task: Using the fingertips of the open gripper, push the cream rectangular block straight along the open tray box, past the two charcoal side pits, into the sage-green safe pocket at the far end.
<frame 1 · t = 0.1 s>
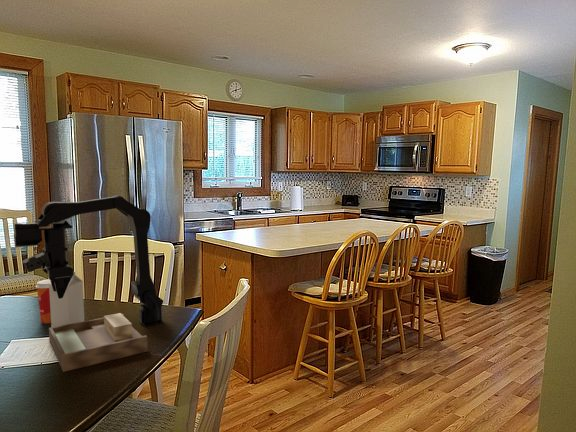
hand: (58, 294, 129), 15 cm above the table, fingers open, 9 cm apart
paper cup: (50, 321, 149), on the table
milk carton: (68, 327, 143), on the table
open tray box: (97, 346, 127), on the table
cream rectangular block: (117, 332, 130), point 3 cm above the table, touching open tray box
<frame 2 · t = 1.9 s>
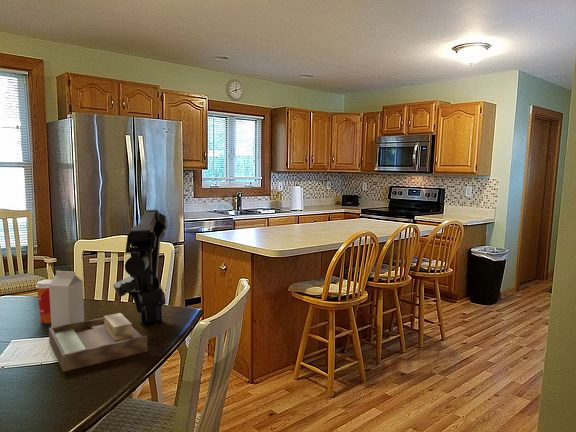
hand: (143, 316, 135), 6 cm above the table, fingers open, 9 cm apart
nothing on the table moved.
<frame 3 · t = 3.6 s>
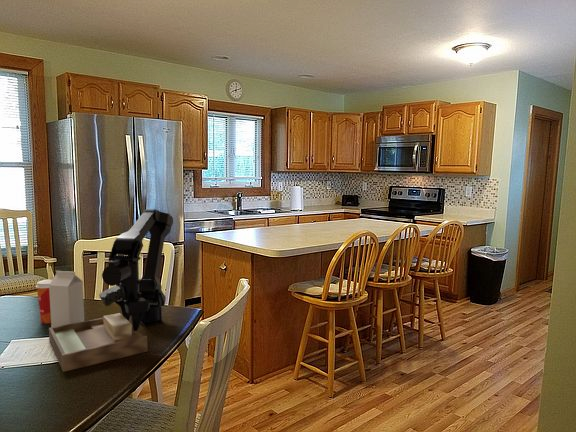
hand: (130, 326, 132), 4 cm above the table
cream rectangular block: (117, 332, 130), point 3 cm above the table, touching gripper, open tray box
everything else where it was.
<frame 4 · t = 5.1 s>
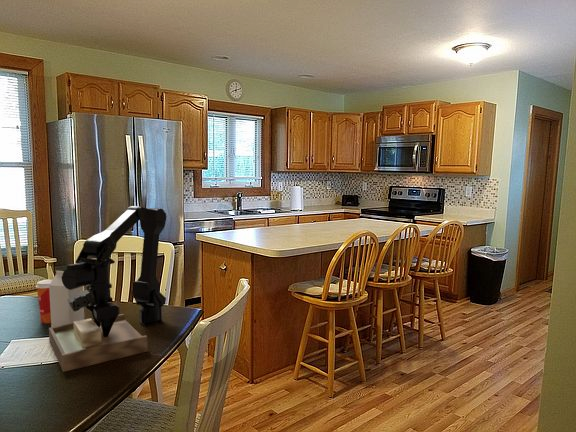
hand: (101, 332, 127), 4 cm above the table
cream rectangular block: (87, 338, 125), point 3 cm above the table, touching gripper, open tray box
everything else where it was.
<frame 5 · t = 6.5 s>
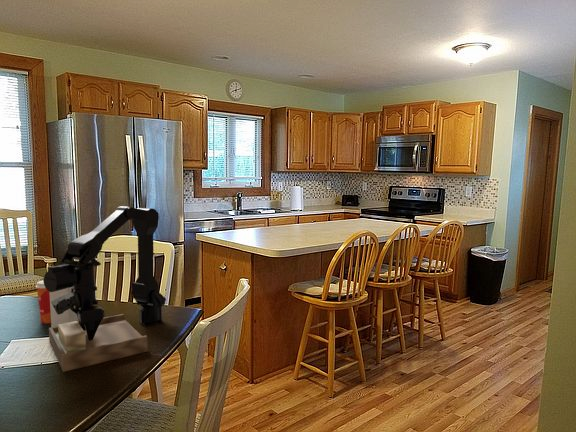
hand: (87, 335, 125), 4 cm above the table
cream rectangular block: (72, 342, 123), point 3 cm above the table, touching gripper, open tray box
everything else where it was.
when the fingers open (4 cm above the table, at t = 6.9 s): cream rectangular block stays where it is, resting on open tray box.
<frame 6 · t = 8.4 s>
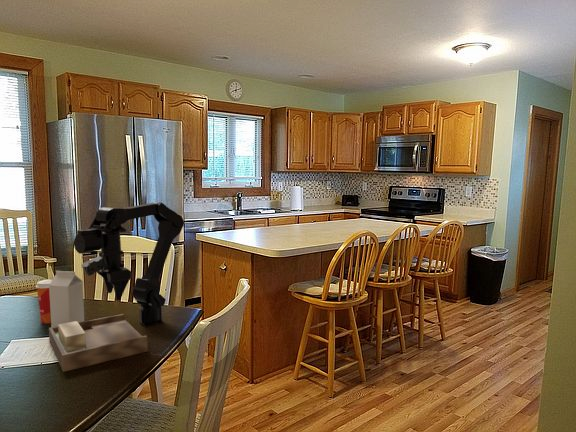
hand: (114, 296, 135), 13 cm above the table, fingers open, 9 cm apart
cream rectangular block: (72, 342, 123), point 3 cm above the table, touching open tray box
everything else where it was.
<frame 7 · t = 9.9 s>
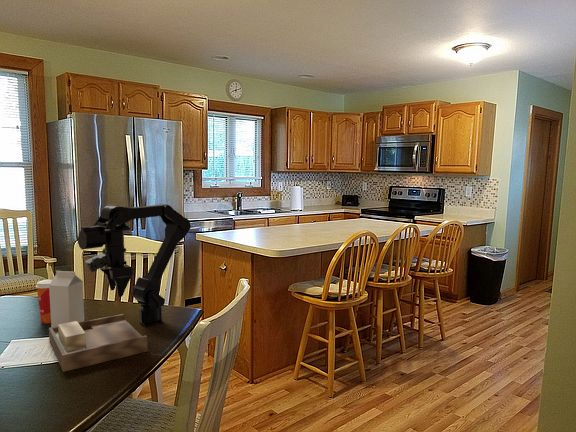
hand: (116, 293, 137), 13 cm above the table, fingers open, 9 cm apart
nothing on the table moved.
at the end: cream rectangular block 0.0 cm from the target spot on the open tray box, point 3.0 cm above the open tray box's base; cream rectangular block tilted 0°; cream rectangular block moved 12.7 cm from its start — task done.
